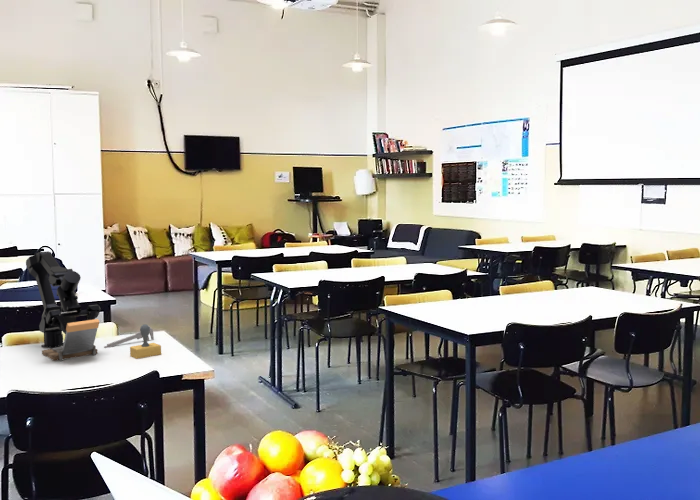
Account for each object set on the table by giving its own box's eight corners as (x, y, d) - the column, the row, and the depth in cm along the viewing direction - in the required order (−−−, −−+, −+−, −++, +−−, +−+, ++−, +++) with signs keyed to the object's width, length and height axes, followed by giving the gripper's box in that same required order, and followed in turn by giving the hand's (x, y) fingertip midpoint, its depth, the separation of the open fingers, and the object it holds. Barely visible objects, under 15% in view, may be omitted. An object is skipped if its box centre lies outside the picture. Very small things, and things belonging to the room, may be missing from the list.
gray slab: (61, 353, 253) (67, 323, 246) (91, 348, 260) (97, 318, 254) (62, 356, 252) (68, 326, 245) (92, 351, 260) (99, 321, 253)
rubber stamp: (136, 359, 254) (135, 327, 253) (130, 356, 258) (128, 324, 257) (161, 354, 261) (160, 323, 259) (154, 351, 265) (153, 321, 264)
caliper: (152, 340, 285) (152, 325, 284) (153, 340, 284) (153, 325, 283) (103, 348, 272) (103, 332, 271) (104, 348, 271) (104, 333, 270)
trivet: (42, 354, 261) (41, 345, 261) (84, 347, 272) (83, 338, 272) (56, 361, 250) (56, 352, 250) (99, 354, 261) (99, 345, 261)
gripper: (87, 307, 270) (99, 340, 264) (37, 314, 258) (49, 349, 251) (94, 291, 263) (107, 324, 257) (44, 296, 251) (56, 332, 244)
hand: (80, 333), depth 252 cm, fingers open, 9 cm apart
